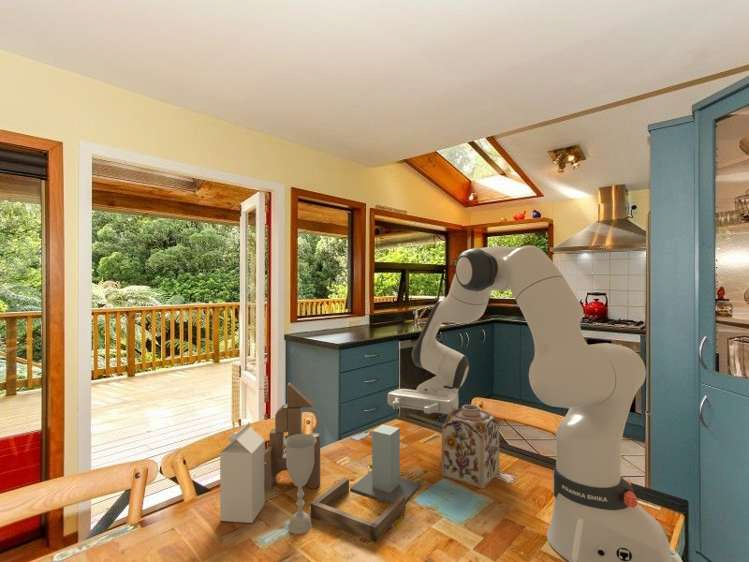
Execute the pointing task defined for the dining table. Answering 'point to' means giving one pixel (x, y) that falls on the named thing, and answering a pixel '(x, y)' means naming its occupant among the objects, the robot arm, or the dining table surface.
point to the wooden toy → (289, 422)
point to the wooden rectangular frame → (351, 522)
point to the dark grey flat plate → (403, 489)
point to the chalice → (300, 475)
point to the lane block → (386, 458)
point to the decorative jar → (470, 446)
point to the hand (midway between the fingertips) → (410, 408)
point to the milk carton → (242, 476)
